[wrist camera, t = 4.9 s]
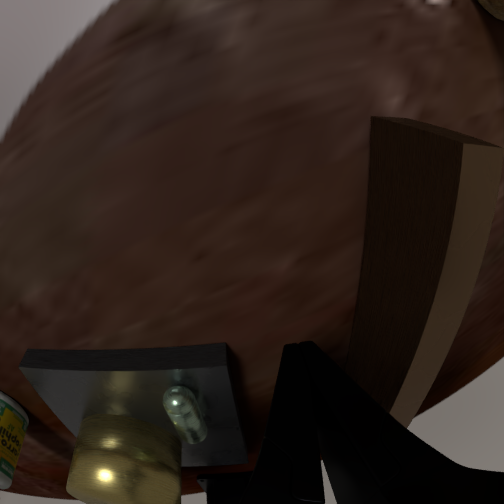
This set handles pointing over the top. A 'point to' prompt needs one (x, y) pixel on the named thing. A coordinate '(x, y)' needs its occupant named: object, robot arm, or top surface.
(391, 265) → the brown bar with knob
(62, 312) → the top surface
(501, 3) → the sprinkles bottle
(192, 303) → the top surface
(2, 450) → the supplement bottle
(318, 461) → the robot arm
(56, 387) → the plate
